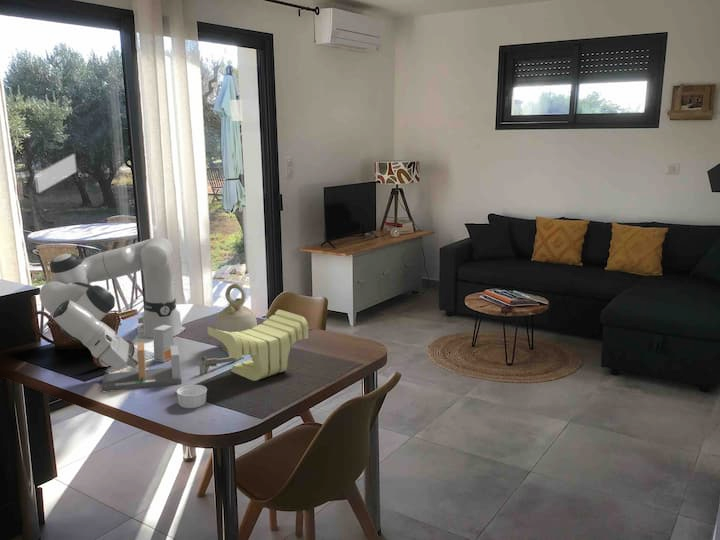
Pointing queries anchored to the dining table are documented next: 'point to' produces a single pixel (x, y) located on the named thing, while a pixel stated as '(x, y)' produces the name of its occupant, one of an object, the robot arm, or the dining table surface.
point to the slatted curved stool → (264, 344)
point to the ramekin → (192, 396)
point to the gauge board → (152, 376)
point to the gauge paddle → (141, 361)
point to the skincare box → (162, 342)
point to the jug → (235, 315)
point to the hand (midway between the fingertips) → (136, 365)
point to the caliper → (214, 363)
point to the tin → (103, 364)
